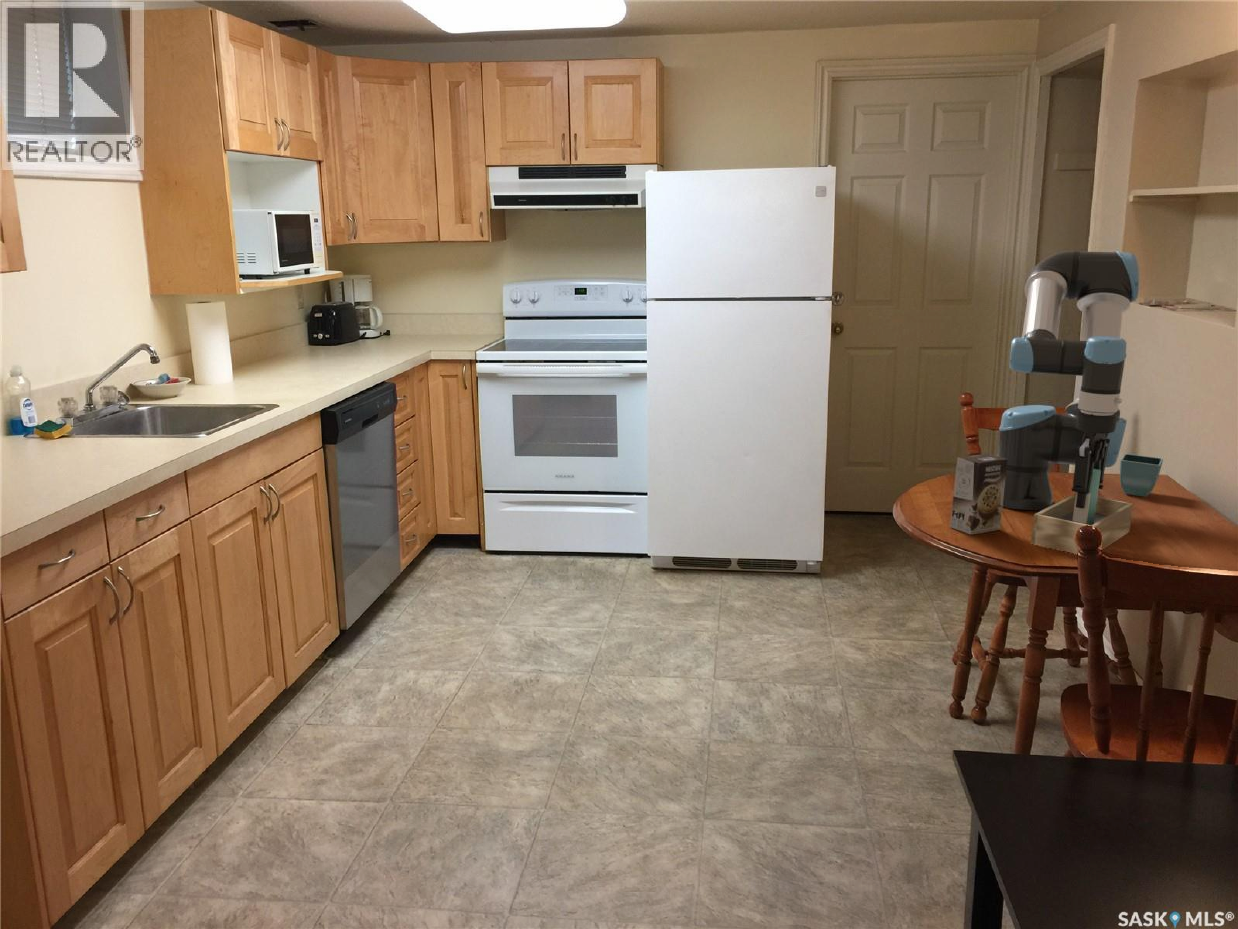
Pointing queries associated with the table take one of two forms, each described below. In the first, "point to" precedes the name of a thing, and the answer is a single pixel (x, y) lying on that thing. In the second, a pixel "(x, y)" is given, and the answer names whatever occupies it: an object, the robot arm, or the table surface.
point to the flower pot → (1139, 474)
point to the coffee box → (978, 493)
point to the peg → (1093, 496)
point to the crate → (1059, 528)
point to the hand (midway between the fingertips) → (1083, 519)
